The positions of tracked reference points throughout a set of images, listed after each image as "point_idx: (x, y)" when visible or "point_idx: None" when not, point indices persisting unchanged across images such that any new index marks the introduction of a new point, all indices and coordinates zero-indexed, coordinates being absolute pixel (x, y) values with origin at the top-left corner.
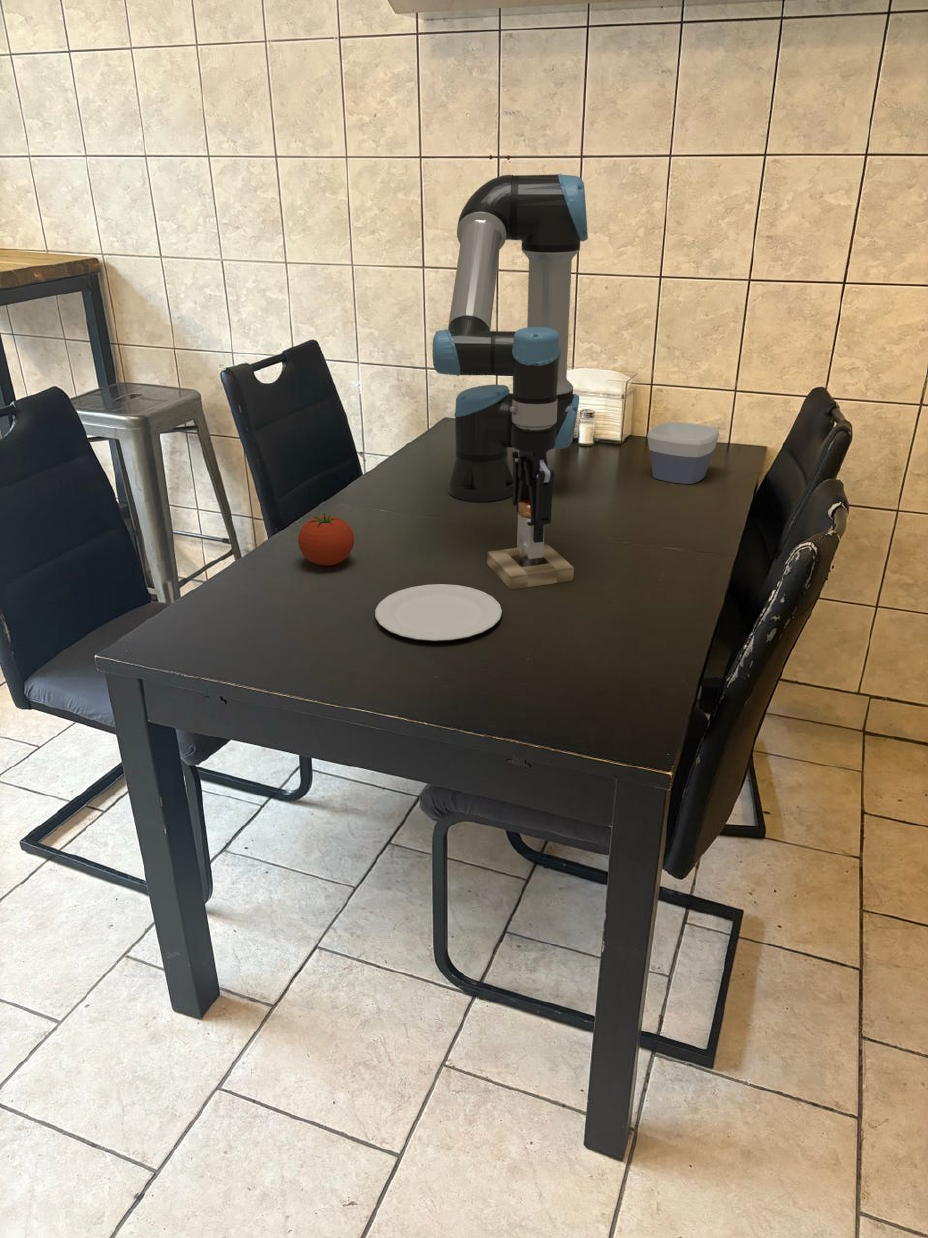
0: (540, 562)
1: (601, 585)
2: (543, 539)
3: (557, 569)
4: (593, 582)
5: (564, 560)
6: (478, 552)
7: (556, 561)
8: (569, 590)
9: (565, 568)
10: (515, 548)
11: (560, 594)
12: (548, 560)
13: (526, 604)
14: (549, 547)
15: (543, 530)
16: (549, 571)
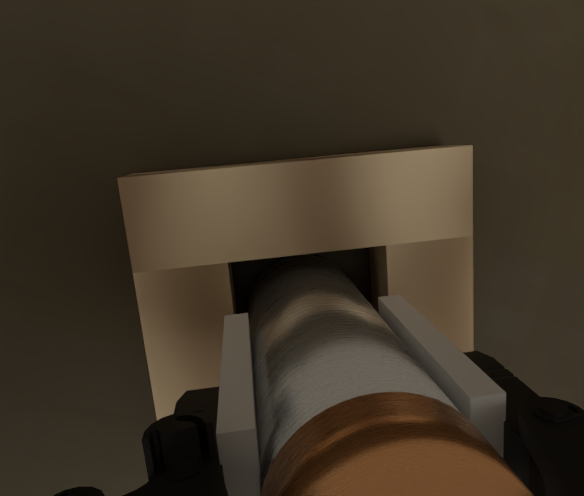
0: (354, 285)
1: (527, 35)
2: (440, 335)
3: (467, 233)
4: (487, 59)
5: (373, 162)
6: (31, 467)
7: (374, 207)
8: (526, 195)
9: (468, 191)
10: (155, 363)
11: (547, 243)
12: (351, 243)
13: (580, 389)
14: (176, 183)
15: (533, 392)
16: (472, 275)
